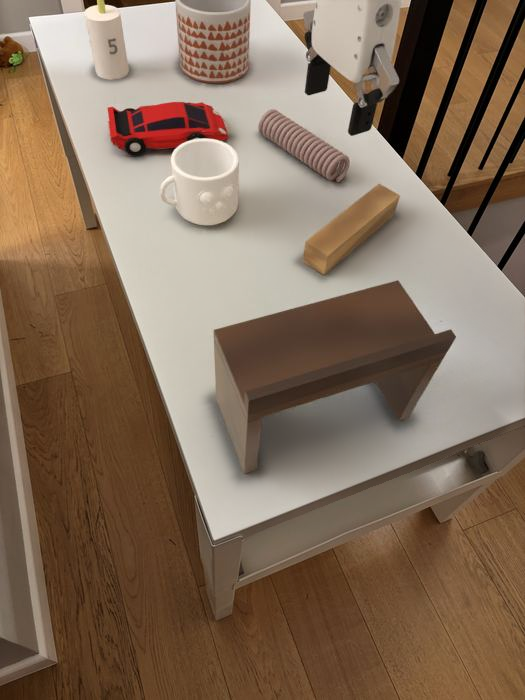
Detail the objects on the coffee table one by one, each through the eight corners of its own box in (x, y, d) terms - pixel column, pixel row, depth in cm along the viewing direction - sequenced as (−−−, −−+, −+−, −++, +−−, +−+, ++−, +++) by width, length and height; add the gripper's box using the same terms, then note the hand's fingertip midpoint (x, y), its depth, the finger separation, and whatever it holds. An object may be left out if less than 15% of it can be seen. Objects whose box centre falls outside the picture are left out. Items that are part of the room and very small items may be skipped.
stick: (393, 215, 85) (400, 195, 82) (323, 275, 77) (327, 255, 74) (373, 203, 86) (379, 183, 83) (302, 261, 78) (305, 241, 75)
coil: (355, 153, 86) (277, 104, 93) (336, 162, 84) (258, 110, 91) (347, 178, 90) (273, 129, 97) (329, 187, 88) (254, 136, 95)
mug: (175, 243, 79) (170, 193, 72) (152, 200, 84) (145, 149, 77) (249, 222, 82) (252, 173, 75) (223, 182, 88) (223, 132, 80)
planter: (198, 91, 102) (195, 19, 92) (168, 57, 109) (162, -14, 98) (260, 75, 107) (264, 5, 96) (228, 43, 113) (228, -26, 103)
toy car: (232, 147, 93) (233, 120, 89) (115, 163, 89) (110, 136, 85) (217, 113, 99) (217, 86, 94) (106, 126, 94) (101, 99, 90)
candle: (102, 83, 102) (85, -5, 90) (91, 66, 105) (73, -21, 93) (134, 76, 104) (121, -11, 92) (121, 60, 107) (108, -26, 95)
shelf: (408, 417, 64) (456, 336, 51) (244, 474, 59) (248, 400, 46) (370, 352, 70) (404, 263, 56) (215, 399, 65) (212, 313, 51)
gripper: (449, -18, 51) (402, 140, 65) (345, -82, 59) (323, 72, 74) (387, -5, 49) (352, 157, 63) (288, -73, 57) (276, 84, 71)
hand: (336, 111), depth 68 cm, fingers open, 9 cm apart
